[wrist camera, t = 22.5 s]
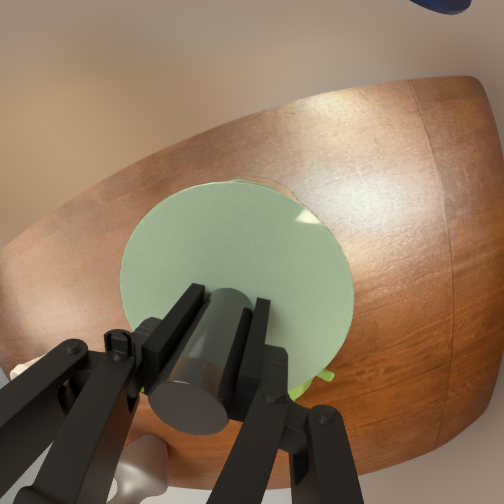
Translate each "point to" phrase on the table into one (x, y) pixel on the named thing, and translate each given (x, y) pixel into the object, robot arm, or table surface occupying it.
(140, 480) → the vase
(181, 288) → the lid
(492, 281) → the table surface
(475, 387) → the table surface
